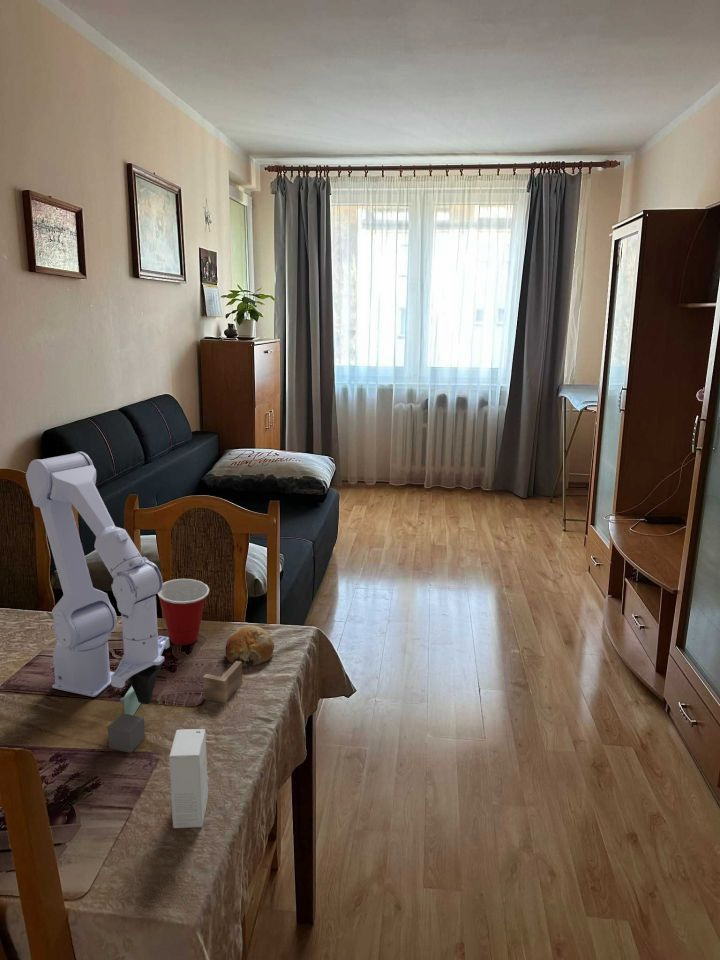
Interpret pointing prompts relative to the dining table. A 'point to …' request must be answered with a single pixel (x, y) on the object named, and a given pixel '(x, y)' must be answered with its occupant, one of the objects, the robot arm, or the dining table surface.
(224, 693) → the wooden blocks
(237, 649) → the bread roll
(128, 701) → the door
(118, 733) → the gray cube block
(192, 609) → the plastic cup
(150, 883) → the dining table surface
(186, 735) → the skincare box
